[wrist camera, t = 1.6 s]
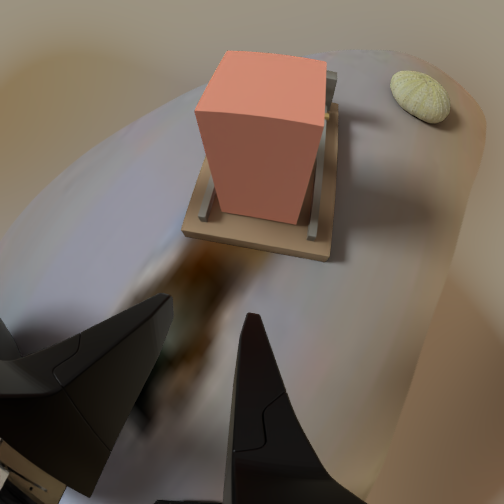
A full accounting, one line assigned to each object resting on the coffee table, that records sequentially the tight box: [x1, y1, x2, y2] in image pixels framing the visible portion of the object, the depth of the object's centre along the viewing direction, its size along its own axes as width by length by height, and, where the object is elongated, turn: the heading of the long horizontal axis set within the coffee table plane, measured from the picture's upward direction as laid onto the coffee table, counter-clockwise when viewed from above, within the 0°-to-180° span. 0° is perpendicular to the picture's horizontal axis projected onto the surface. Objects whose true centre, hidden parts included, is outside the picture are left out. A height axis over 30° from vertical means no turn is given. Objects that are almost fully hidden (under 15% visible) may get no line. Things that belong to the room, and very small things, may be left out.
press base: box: [181, 70, 338, 262], centre depth 23 cm, size 18×12×6 cm, turn 169°
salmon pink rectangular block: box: [195, 51, 326, 225], centre depth 17 cm, size 6×6×11 cm
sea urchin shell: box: [390, 71, 451, 123], centre depth 27 cm, size 9×8×8 cm
